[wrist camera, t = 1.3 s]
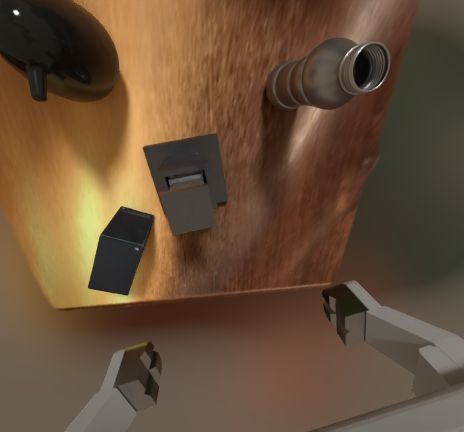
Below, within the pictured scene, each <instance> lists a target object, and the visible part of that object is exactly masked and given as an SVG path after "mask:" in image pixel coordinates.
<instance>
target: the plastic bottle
mask: <svg viewBox="0 0 464 432" xmlns="http://www.w3.org/2000/svg"><path fill="white" fill-rule="evenodd" d="M389 68H390V54H389V51H388V49H387V47H386V46H385V45H384V44H382V43H380V42H369V43H366V44H359V45H357V44H356V43H355V42H354V41H352V40H350V39H346V38H331V39H329V40H326V41H324V42H323V43H322V44H320V45H319V46H317V47H316V48H315V49H314V50H313V51H311V52H310V53H309V54H308V55H307V56H306V57H304V58H302V59H301V60H298V61H288V62H283V63H281V64H279V65H278V66H276V67H275V68H274V70H273V71H272V72H271V74H270V75H269V77H268V80H267V83H266V93H267V97H268V99H269V101H270V102H271V104H272V105H273V106H275V107H276V108H278V109H280V110H284V111H289V110H293V109H295V108H298V107H299V106H303V105H306V106H313V107H316V108H320V109H326V110H332V109H336V108H339V107H341V106H343V105H344V104H346V103H348V102H349V101H350V100H351V99H352V98H353V97H354V96H355V95H357V94H361V93H367V92H371V91H373V90H375V89H377V88H378V87H379V86H380V85H381V84H382V83H383V82H384V80H385V79H386V77H387V75H388V72H389Z"/></svg>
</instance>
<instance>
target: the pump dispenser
mask: <svg viewBox="0 0 464 432" xmlns="http://www.w3.org/2000/svg"><path fill="white" fill-rule="evenodd" d="M0 55H1V57H2V58H3V59H4V60H5V61H6V62H7V63H8V64H9V65H11V66H12V67H13V68H14V69H15V70H16V71H18V72H19V73H20V74H21V75H23V76H24V77H25V78H27V79H28V80H29V85H30V90H31V95H32V98H33V99H34V100H36V101H39V102H45V101H47V91H48V92H50V93H52V94H54V95H57V96H59V97H62V98H65V99H68V100H71V101H76V102H94V101H98V100H100V99H102V98H104V97H106V96H107V95H108V94H109V93H110V92H111V91H112V90H113V88H114V87H115V85H116V82H117V80H118V75H119V59H118V54H117V51H116V48H115V45H114V43H113V41H112V39H111V37H110V35H109V34H108V32H107V31H106V29H105V28H104V27H103V25H102V24H101V23H100V22H99V21H98V20H97V19H96V18H95V17H94V16H93V15H92V14H91V13H90V12H88V11H87V10H86V9H84V8H83V7H82V6H80V5H78V4H77V3H75V2H74V1H72V0H0Z"/></svg>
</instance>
